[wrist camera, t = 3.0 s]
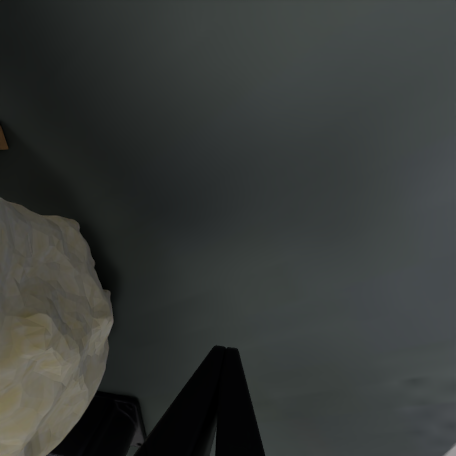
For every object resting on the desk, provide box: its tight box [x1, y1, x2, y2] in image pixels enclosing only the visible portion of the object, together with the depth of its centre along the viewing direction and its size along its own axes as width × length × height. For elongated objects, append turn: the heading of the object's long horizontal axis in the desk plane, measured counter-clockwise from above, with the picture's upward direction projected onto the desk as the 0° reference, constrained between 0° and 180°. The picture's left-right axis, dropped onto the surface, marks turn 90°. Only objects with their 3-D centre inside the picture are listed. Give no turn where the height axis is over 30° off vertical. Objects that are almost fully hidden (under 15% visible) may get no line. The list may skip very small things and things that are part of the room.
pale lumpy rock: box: [0, 197, 114, 456], centre depth 13 cm, size 15×7×15 cm
